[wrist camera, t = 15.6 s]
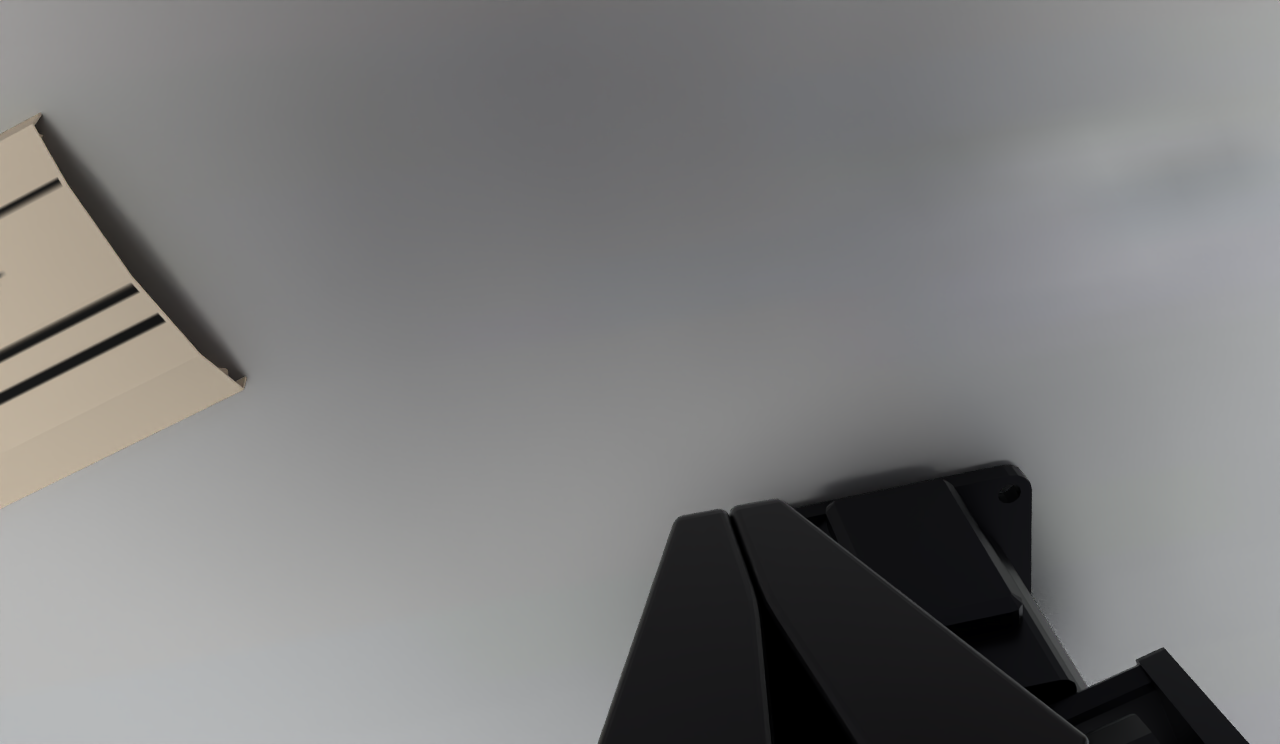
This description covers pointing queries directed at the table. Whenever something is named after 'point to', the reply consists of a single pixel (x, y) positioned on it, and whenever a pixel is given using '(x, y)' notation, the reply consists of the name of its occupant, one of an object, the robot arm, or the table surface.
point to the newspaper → (78, 334)
